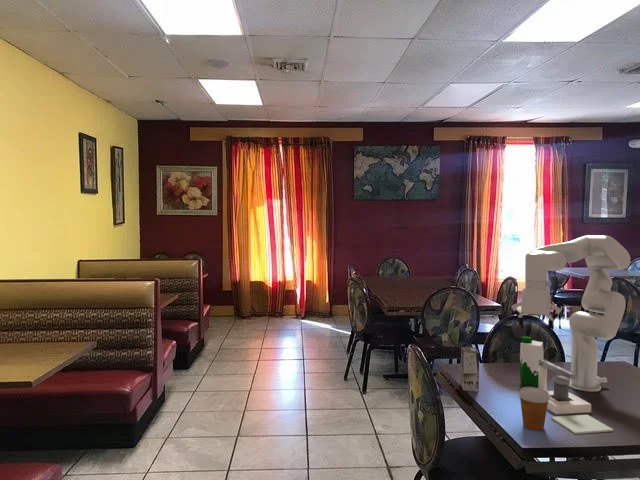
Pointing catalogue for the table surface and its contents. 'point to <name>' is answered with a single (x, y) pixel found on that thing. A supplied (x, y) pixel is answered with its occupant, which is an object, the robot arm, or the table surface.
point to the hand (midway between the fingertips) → (535, 328)
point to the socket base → (562, 407)
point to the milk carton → (530, 361)
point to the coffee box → (470, 369)
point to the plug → (561, 388)
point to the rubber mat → (581, 424)
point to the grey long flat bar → (557, 369)
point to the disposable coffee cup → (534, 407)
